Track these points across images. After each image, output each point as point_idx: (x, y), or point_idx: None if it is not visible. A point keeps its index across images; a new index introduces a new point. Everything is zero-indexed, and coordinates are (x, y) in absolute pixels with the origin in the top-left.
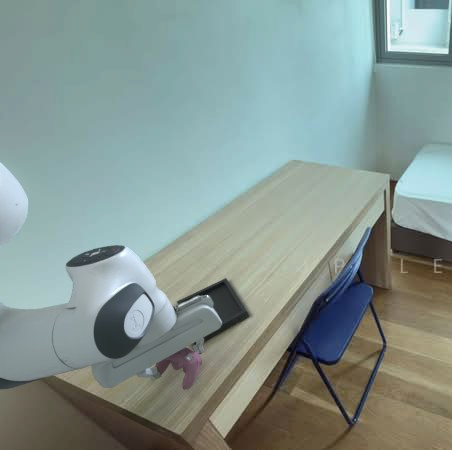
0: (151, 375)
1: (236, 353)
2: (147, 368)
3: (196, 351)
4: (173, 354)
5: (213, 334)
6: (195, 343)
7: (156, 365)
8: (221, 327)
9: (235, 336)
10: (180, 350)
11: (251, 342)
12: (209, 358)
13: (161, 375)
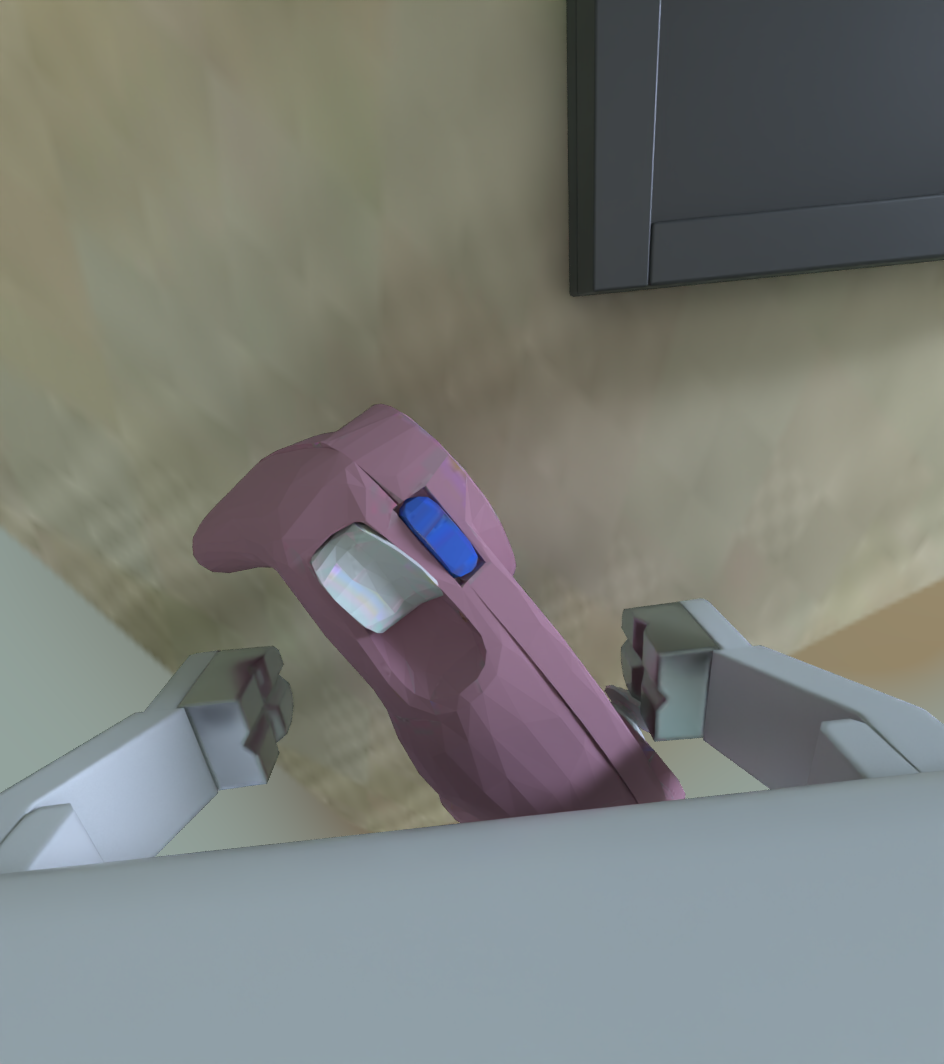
0: (201, 799)
1: (794, 605)
2: (131, 755)
3: (668, 731)
4: (467, 797)
5: (772, 276)
6: (590, 293)
7: (223, 559)
8: (904, 262)
9: (884, 431)
10: (563, 797)
11: (925, 578)
12: (626, 525)
13: (290, 698)
